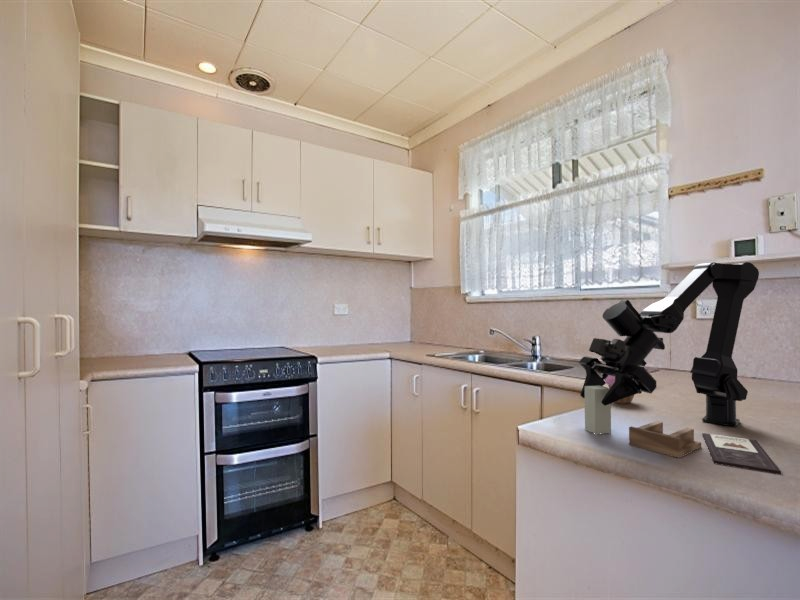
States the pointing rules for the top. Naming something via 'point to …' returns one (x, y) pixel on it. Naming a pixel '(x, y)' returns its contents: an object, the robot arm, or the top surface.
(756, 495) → the top surface
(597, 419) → the pale green rectangular block
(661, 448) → the tray
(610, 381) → the cupcake
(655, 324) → the robot arm
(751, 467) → the chocolate bar
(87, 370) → the top surface
